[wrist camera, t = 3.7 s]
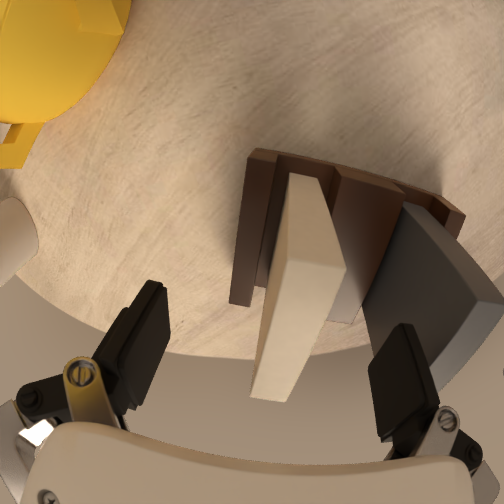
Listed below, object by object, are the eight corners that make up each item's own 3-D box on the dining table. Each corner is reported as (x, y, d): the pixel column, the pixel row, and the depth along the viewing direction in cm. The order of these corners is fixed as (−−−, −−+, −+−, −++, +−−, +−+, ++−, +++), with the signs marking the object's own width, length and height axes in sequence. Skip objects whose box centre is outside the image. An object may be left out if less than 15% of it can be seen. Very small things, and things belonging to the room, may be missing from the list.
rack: (442, 196, 16) (466, 215, 13) (396, 302, 21) (407, 330, 18) (255, 147, 16) (247, 157, 14) (237, 274, 22) (228, 303, 19)
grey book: (423, 206, 16) (509, 305, 7) (383, 298, 20) (417, 412, 11) (394, 198, 16) (478, 300, 7) (358, 293, 20) (383, 414, 11)
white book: (317, 178, 16) (347, 269, 7) (291, 282, 20) (285, 402, 12) (289, 172, 16) (287, 257, 8) (267, 277, 20) (249, 397, 12)
